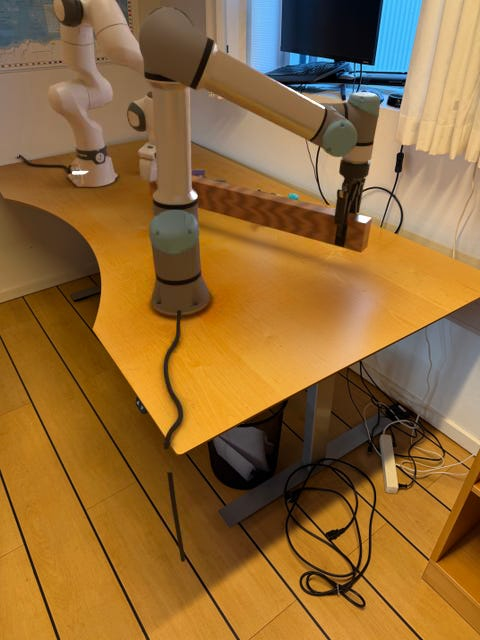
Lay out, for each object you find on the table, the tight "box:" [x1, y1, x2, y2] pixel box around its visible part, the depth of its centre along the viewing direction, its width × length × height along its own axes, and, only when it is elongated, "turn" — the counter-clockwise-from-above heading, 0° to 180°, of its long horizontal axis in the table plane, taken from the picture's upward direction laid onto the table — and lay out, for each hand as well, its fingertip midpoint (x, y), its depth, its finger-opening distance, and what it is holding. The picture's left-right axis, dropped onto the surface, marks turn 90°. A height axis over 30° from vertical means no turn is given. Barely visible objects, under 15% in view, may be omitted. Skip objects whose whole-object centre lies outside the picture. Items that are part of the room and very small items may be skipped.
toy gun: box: [191, 168, 228, 184], centre depth 195 cm, size 4×19×15 cm
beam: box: [148, 175, 373, 253], centre depth 148 cm, size 79×4×9 cm, turn 55°
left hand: (166, 186), depth 165 cm, fingers closed on beam, 4 cm apart
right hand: (343, 241), depth 135 cm, fingers closed on beam, 4 cm apart
